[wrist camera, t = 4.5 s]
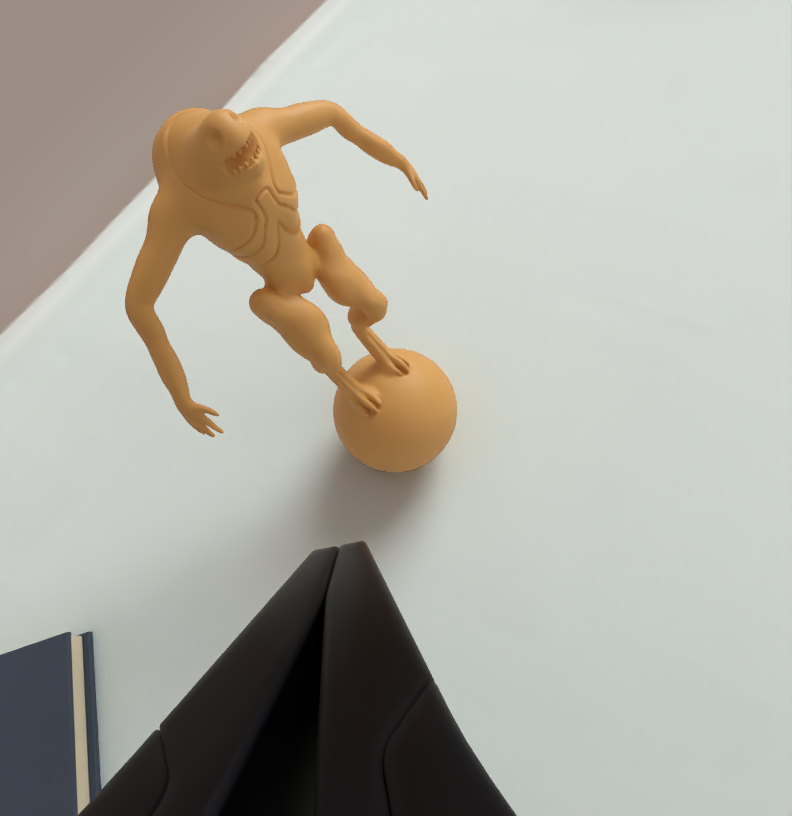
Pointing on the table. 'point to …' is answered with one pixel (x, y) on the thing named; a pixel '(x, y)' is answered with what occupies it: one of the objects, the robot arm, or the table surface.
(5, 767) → the notebook
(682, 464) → the table surface
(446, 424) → the figurine
